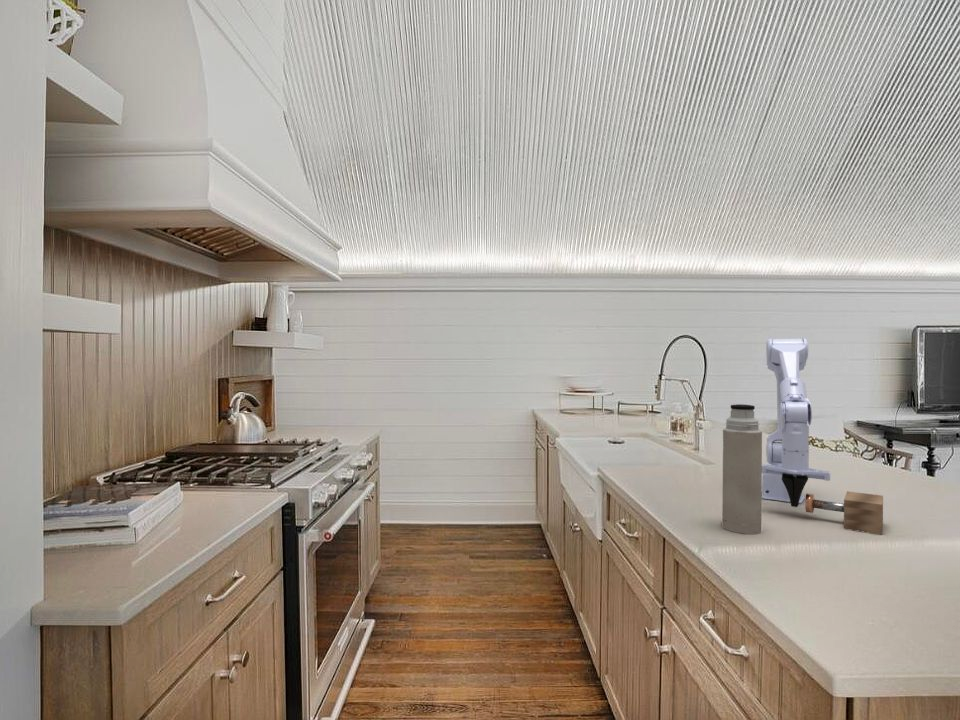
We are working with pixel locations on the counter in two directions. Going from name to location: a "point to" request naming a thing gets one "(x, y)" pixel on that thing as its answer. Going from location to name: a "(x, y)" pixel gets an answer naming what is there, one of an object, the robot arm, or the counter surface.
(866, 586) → the counter surface
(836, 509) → the copper capped shaft
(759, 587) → the counter surface
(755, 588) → the counter surface
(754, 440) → the thermos bottle
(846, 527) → the bearing block
